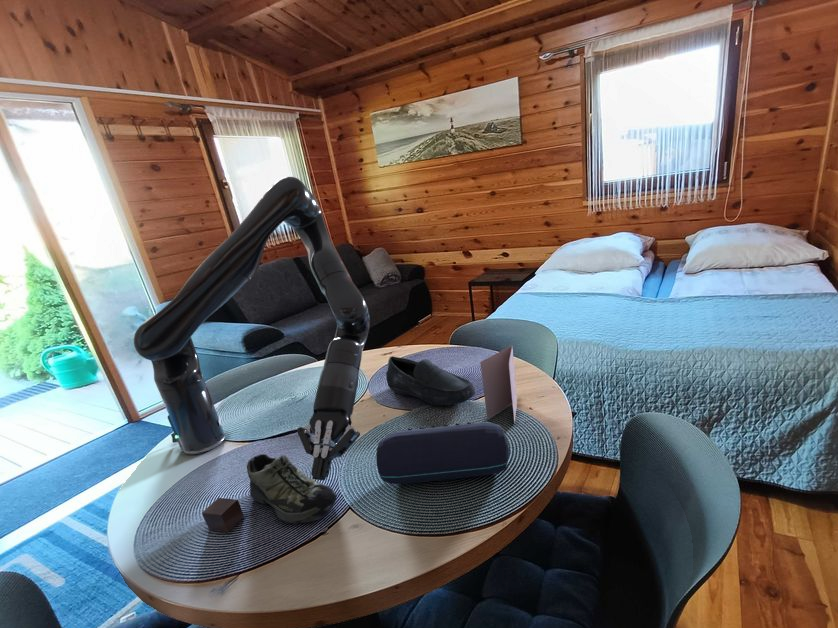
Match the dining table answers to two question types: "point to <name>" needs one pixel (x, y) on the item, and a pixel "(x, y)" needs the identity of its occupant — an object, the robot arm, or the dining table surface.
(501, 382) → the greeting card
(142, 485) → the dining table surface
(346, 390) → the robot arm
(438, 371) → the loafer
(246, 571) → the dining table surface
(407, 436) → the portable speaker
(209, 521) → the block
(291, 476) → the hiking shoe
